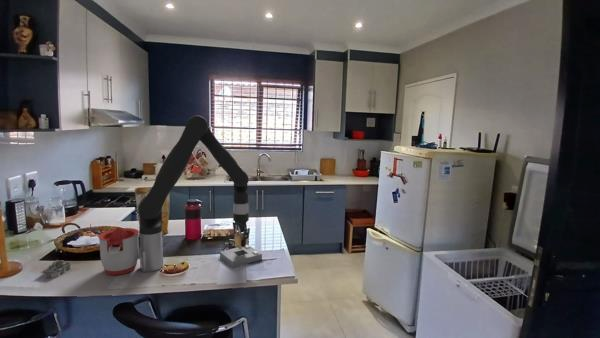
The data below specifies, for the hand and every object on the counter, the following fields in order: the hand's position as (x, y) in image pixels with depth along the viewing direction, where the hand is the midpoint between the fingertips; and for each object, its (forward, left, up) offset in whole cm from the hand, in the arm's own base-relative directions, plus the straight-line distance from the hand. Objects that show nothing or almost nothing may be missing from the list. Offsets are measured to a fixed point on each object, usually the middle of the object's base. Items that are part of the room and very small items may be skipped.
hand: (241, 244), depth 159 cm
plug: (0, 0, -2) cm, 2 cm away
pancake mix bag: (-26, +61, -7) cm, 67 cm away
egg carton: (-73, +32, -8) cm, 80 cm away
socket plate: (0, 0, -7) cm, 7 cm away
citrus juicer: (-50, +19, -7) cm, 54 cm away
